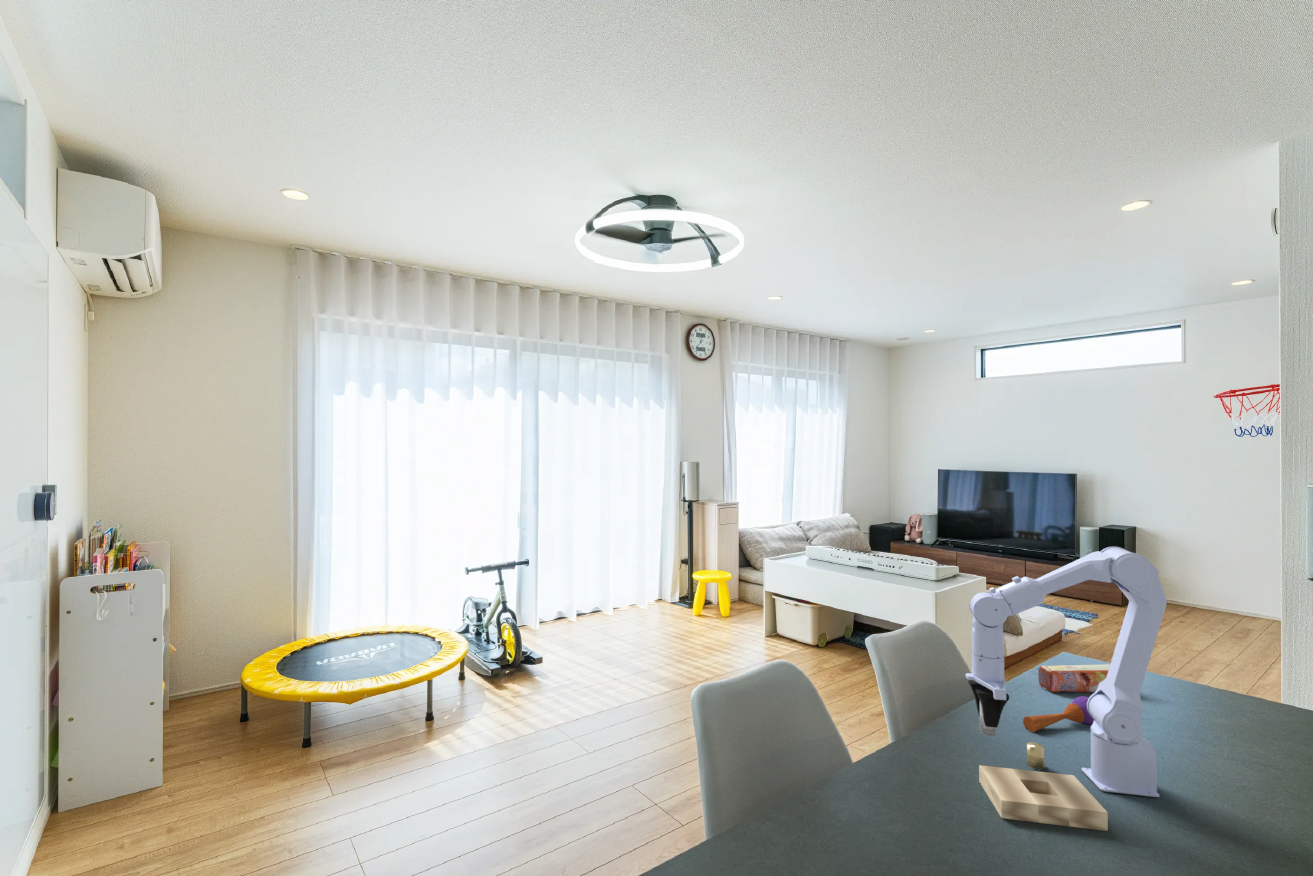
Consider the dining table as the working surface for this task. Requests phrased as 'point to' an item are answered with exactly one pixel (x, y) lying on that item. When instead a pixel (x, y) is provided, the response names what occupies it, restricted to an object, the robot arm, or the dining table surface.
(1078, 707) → the maraca
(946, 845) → the dining table surface
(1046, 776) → the hole block
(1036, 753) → the short pin
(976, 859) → the dining table surface
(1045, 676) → the snack package
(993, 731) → the long pin
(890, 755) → the dining table surface
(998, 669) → the robot arm
